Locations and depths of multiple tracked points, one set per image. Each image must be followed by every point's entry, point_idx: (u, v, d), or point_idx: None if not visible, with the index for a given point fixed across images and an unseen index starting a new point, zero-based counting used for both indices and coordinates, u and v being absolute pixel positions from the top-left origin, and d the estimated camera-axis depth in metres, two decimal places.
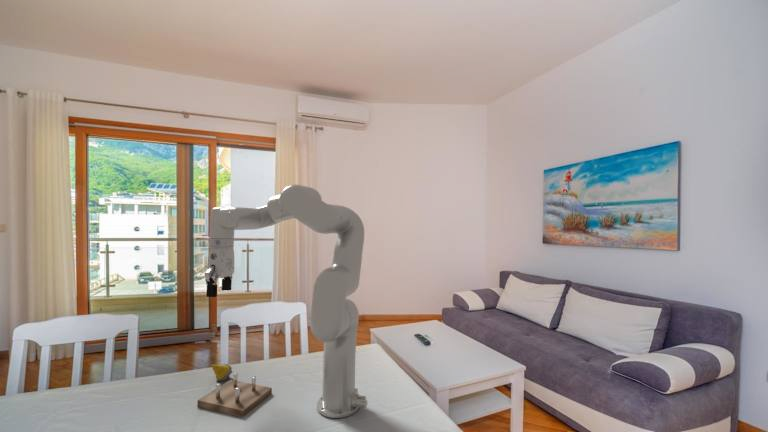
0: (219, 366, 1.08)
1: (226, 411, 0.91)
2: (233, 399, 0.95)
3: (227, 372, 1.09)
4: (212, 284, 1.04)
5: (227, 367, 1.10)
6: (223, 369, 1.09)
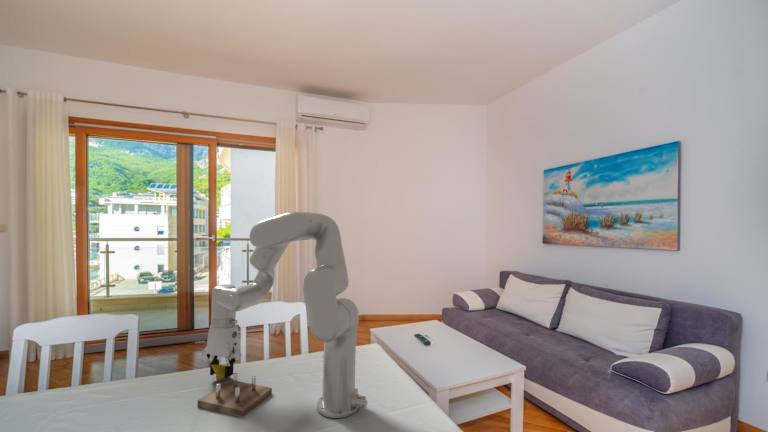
0: (219, 366, 1.08)
1: (226, 411, 0.91)
2: (233, 399, 0.95)
3: None
4: None
5: None
6: (223, 369, 1.09)
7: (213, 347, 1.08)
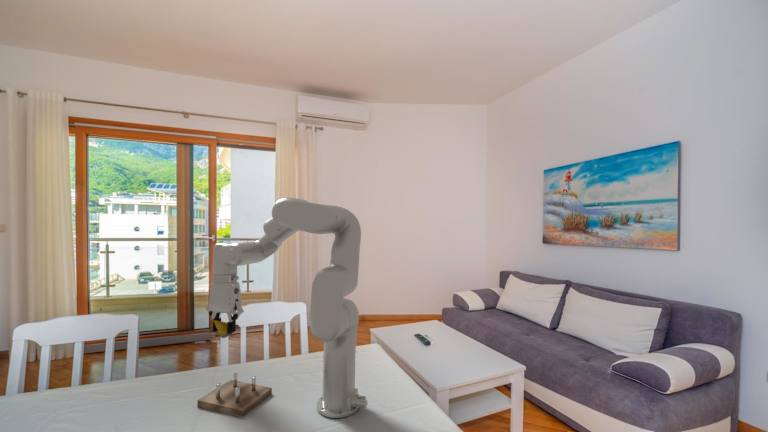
0: (222, 322, 1.08)
1: (226, 411, 0.91)
2: (233, 399, 0.95)
3: None
4: (235, 320, 1.09)
5: None
6: (226, 325, 1.09)
7: (215, 303, 1.08)
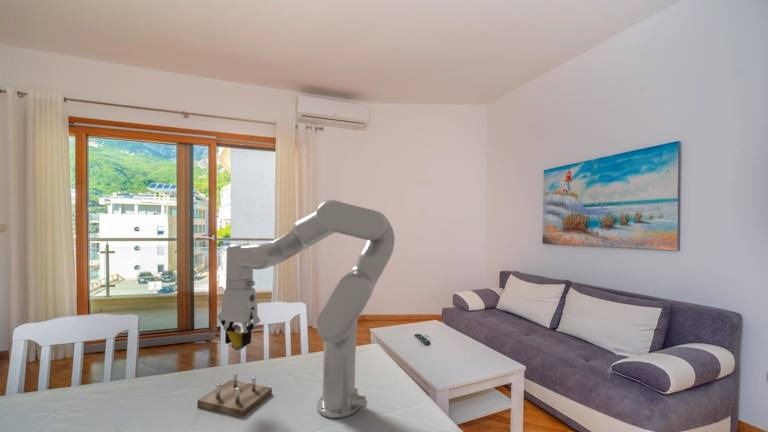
0: (236, 333, 0.97)
1: (226, 411, 0.91)
2: (233, 399, 0.95)
3: None
4: None
5: None
6: (240, 337, 0.97)
7: (228, 312, 0.97)
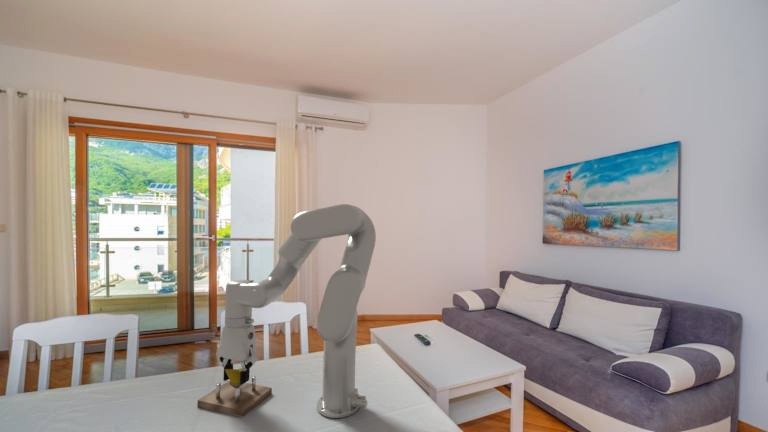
0: (234, 371, 0.97)
1: (226, 411, 0.91)
2: (233, 399, 0.95)
3: None
4: None
5: None
6: (238, 374, 0.97)
7: (227, 350, 0.96)
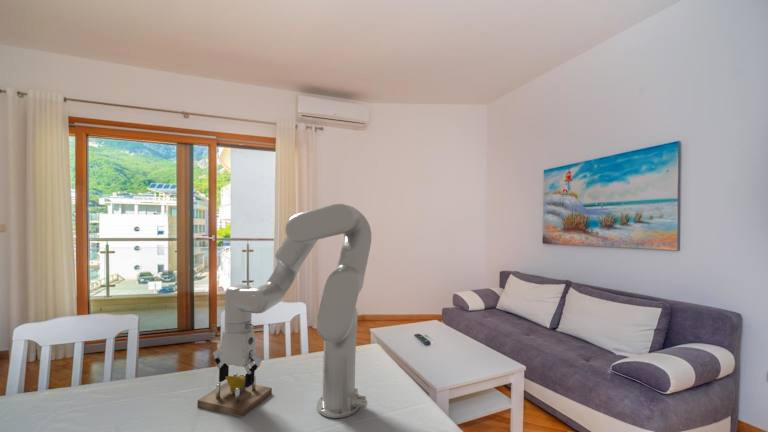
0: (234, 378, 0.97)
1: (226, 411, 0.91)
2: (233, 399, 0.95)
3: (243, 384, 0.98)
4: (254, 370, 0.97)
5: (243, 379, 0.99)
6: (239, 381, 0.97)
7: (227, 355, 0.96)
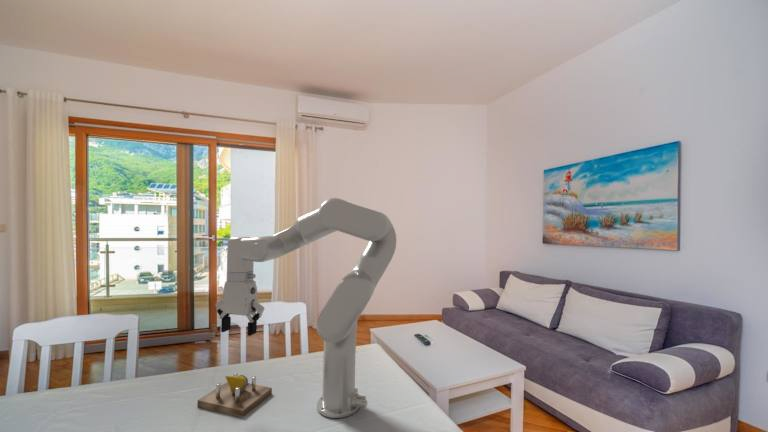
0: (234, 378, 0.97)
1: (226, 411, 0.91)
2: (233, 399, 0.95)
3: (243, 384, 0.98)
4: (257, 319, 0.98)
5: (243, 379, 0.99)
6: (239, 381, 0.97)
7: (229, 304, 0.97)
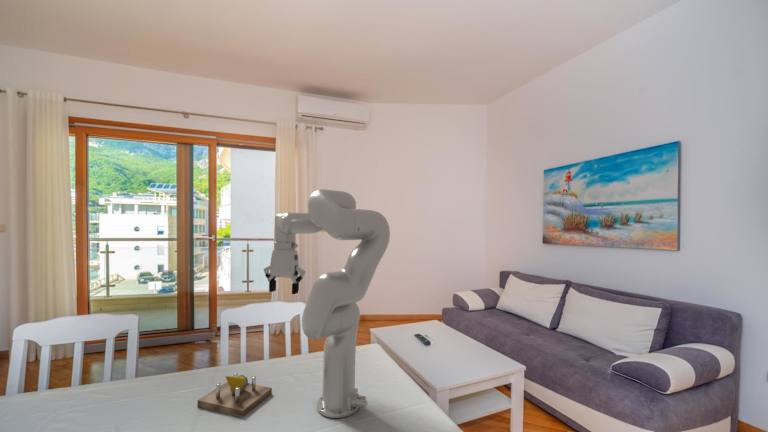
0: (234, 378, 0.97)
1: (226, 411, 0.91)
2: (233, 399, 0.95)
3: (243, 384, 0.98)
4: (299, 281, 1.18)
5: (243, 379, 0.99)
6: (239, 381, 0.97)
7: (276, 269, 1.18)
